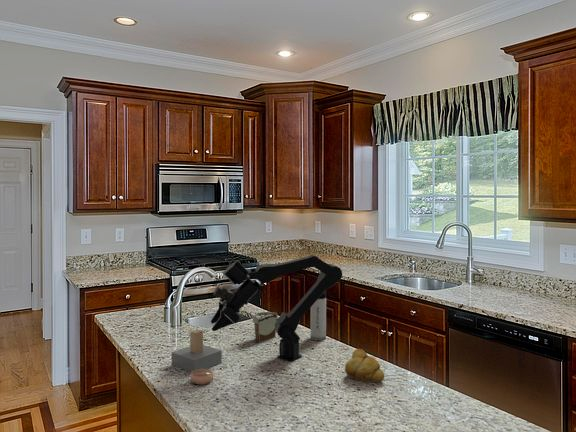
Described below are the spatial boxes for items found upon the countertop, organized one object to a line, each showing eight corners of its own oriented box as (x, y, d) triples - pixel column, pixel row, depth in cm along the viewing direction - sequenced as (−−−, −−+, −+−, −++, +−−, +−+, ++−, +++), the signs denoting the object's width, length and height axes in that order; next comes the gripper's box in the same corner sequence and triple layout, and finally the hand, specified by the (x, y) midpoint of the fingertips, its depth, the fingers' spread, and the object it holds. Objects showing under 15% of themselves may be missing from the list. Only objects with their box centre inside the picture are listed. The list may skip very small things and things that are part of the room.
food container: (266, 333, 197) (266, 310, 196) (277, 336, 193) (277, 312, 192) (246, 340, 187) (245, 316, 186) (257, 344, 183) (257, 318, 183)
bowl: (218, 380, 147) (217, 371, 147) (200, 388, 142) (200, 378, 142) (203, 375, 152) (202, 366, 151) (185, 382, 146) (185, 373, 146)
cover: (221, 362, 163) (221, 330, 162) (194, 373, 153) (194, 339, 153) (198, 355, 170) (198, 324, 170) (171, 364, 161) (171, 332, 160)
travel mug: (317, 334, 196) (317, 286, 194) (329, 337, 191) (329, 289, 190) (306, 337, 191) (306, 289, 190) (318, 341, 186) (319, 291, 185)
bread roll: (390, 380, 148) (390, 355, 147) (370, 389, 142) (370, 363, 141) (358, 369, 158) (359, 345, 157) (339, 376, 151) (339, 352, 151)
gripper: (225, 273, 172) (194, 304, 170) (229, 283, 153) (195, 318, 152) (247, 293, 174) (216, 324, 172) (253, 305, 155) (219, 340, 154)
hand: (211, 326), depth 162 cm, fingers open, 9 cm apart
